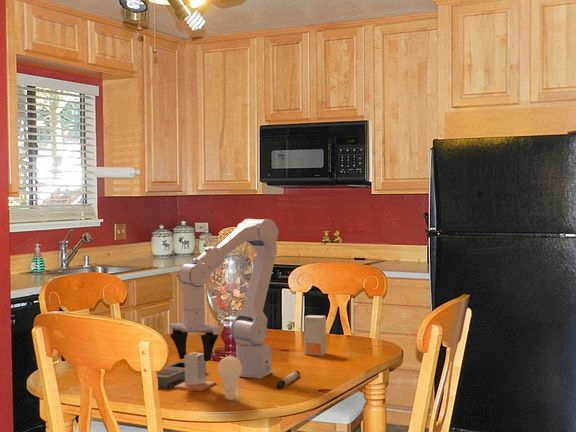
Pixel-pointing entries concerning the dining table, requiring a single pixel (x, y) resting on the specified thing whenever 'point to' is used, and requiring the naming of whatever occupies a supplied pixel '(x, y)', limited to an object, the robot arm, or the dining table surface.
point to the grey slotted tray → (171, 375)
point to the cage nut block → (195, 369)
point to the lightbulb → (229, 375)
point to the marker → (288, 379)
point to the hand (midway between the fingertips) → (195, 359)
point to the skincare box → (315, 335)
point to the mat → (195, 388)
